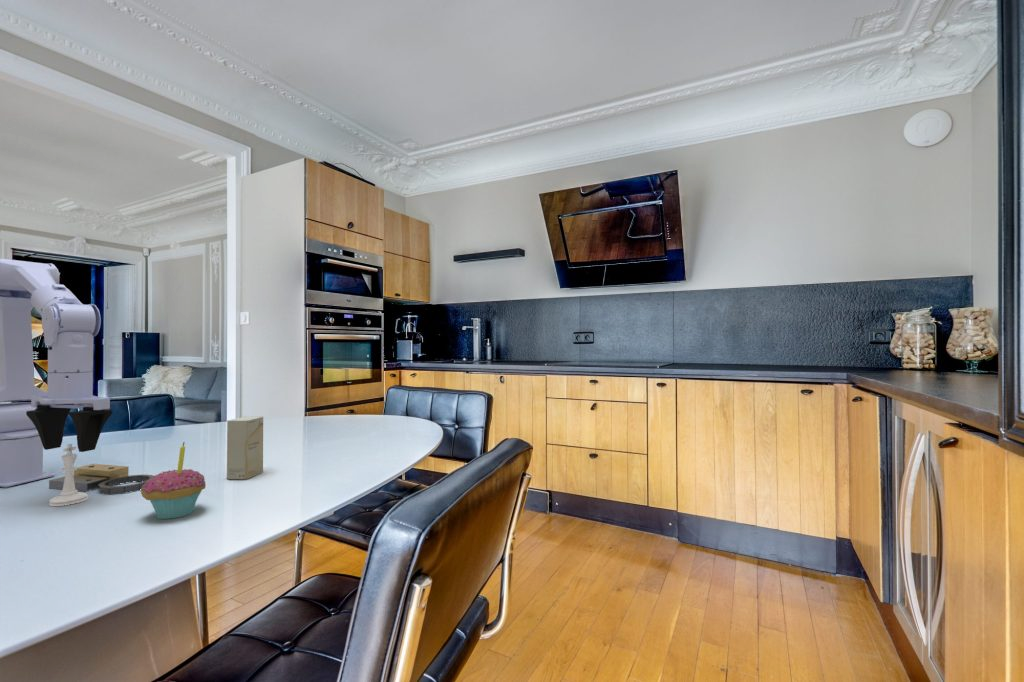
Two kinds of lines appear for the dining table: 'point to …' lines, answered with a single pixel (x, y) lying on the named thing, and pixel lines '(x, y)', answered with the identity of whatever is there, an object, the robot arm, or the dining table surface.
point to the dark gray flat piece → (103, 483)
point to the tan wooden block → (102, 471)
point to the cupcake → (174, 490)
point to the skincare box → (244, 447)
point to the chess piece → (68, 482)
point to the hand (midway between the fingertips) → (69, 449)
